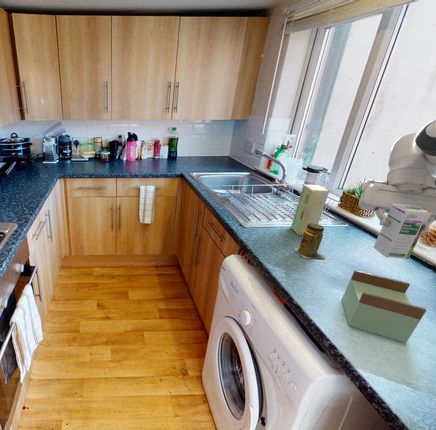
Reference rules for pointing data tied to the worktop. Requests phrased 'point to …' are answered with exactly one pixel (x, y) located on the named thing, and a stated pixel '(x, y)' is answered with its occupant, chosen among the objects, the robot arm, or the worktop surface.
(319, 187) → the toy refrigerator
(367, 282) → the open green tray
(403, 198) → the robot arm
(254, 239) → the worktop surface
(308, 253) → the condiment
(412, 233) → the syrup box
